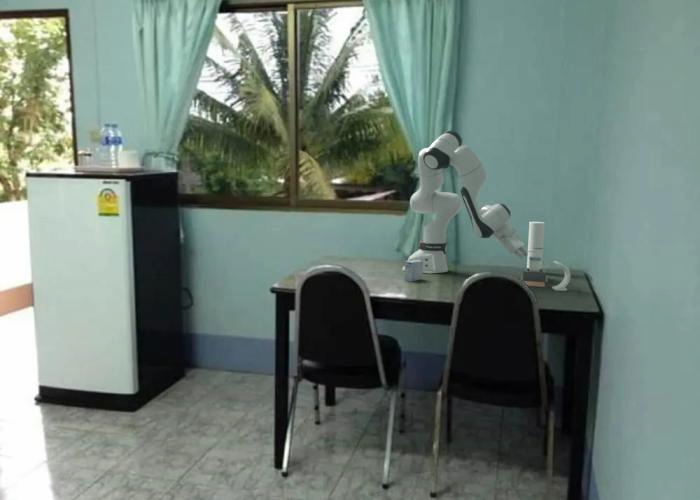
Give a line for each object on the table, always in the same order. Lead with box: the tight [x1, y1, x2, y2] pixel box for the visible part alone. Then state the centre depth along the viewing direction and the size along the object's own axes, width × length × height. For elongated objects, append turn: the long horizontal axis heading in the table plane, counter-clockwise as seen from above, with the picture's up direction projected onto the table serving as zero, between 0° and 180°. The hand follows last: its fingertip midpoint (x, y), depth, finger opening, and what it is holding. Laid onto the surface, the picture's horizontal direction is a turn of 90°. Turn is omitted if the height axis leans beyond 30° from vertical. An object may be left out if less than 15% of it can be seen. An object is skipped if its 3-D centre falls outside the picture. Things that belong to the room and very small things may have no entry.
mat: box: [523, 281, 546, 288], centre depth 275 cm, size 9×9×1 cm
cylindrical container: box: [526, 221, 546, 269], centre depth 302 cm, size 7×7×25 cm
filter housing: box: [520, 267, 549, 284], centre depth 286 cm, size 12×12×4 cm
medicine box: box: [403, 260, 423, 282], centre depth 281 cm, size 8×4×9 cm, turn 135°
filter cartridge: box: [529, 257, 541, 272], centre depth 285 cm, size 5×5×10 cm
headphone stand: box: [551, 260, 571, 291], centre depth 264 cm, size 5×6×12 cm
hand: (525, 257), depth 286 cm, fingers open, 8 cm apart
